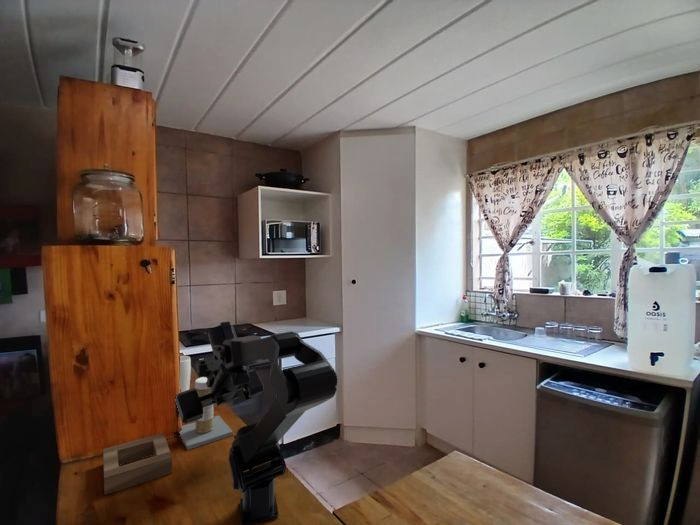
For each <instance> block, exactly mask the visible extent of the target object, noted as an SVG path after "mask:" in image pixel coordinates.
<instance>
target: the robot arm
mask: <svg viewBox="0 0 700 525" xmlns="http://www.w3.org/2000/svg"><path fill="white" fill-rule="evenodd" d="M237 335H238V334H237V333H236V330H235V327H234V325H232V324H231V322H230V321H222V322H220V323H219V325H217V326H215V327H213V328H212V329H210V331H208V332H207V336H208V340H209V344H210V347H211V351H212V354H213V355H212V356H207V357H205V358H203V359H201V360H199V361H197V362H196V363H195V365H194V373H195V374H196V376H197V378H201V377H206V378H207V382H206V385H207V387H208V388H209V387H210V394H207V395H204V396H202V397H199V396H198V393H197V390H196V388H195V387H194V388H189V390H187V391H184V392H181V393H178V394H177V396H176V399H175V402H176V405H177V408H178V411H177V412H178V415H179V416H180V421H181V423H184V424H189V423H193V422H196V420H198V419H200V418H202V415H203V408H205V407H208V406H211V405H213V406H214V405H216V406H217V407H219V406H222V405H225V404H227V403H229V402H231V406H232V407H234V406H236V405H239V404H241V403H244V402H246V401H249V400H252V399H254V398H257V397H258V396H260V395H262V394H263V392H264V389H265V385H264V383H263V380H262V378H261V376H260V374H259V372H258V371H257V370H256V369H253V368H252V369H249V368H250V365H255V364H258V363H260V362H262V361H264V360H269V363H270V364H271V365H270V370H269V375H268V382H269V383H270V385H271V387H272V389H273V391H274V392H275V394H276V396H277V397H276V398H275V399H274V401H273V402H272V403H271V405H270V407H269V408H268V409H267V410H266V412H265V413H264V414H263V416H262V417H261V419H260V420H259V421H257V422H254V423H250V424H248V425H245V426H241V427H240V428H238V430H237V432H236V434H235V435H232V436H233V439H234V440H233V441H232V443H231V447H230V448H229V453H228V462H229V468H230V474H231V479H232V489H233V490H239V492H240V493H241V494H242V498H240V500H239V502H240V503H239V504H240V505H239V506H240V525H251V524H255V523H259V522H264V521H268V520H273V519H277V518H278V517H279V510H278V503H277V498H276V492H275V482H276V481H275V479H276V478H278V477H280V476H285V474H286V470H287V464H286V461H285V457H284V455H283V451H282V449H281V447H280V446H281V445H280V443H279V442H280V440H281V439H282V438H283V437H284V436H285V435H286V433H288V432H289V431H290V429H291V428H292V427H293V426H294V424H296V423H297V421H298V420H299V419H300V418H301V417H302V415H303V414H305V412H306V411H309V410H311V409H312V408H315V407H317V406H320V405H322V404H324V403H325V402H327V401H329V400H330V399H333V398H334V397H335V395H336V393H337V389H338V388H337V387H338V375H337V372H336V371H335V368H333V366H332V365H331V363H330V361H328V359H327V358H326V357H325V354H323V353H322V351H320V350H318V349H316V347H313V346H312V345H310V344H309V343H306V342H305V341H304V340H303V338H302V337H301V336H300V335H299V333H298V332H294V331H285V332H281V333H274V334H273V333H272V334H270V335H269V336H266V337H261V336H260V335H247V336H243V337H242V336H240V337H238V336H237ZM292 357H294V358H295V359H296V361H299V362H300V363H301V364H300V365H296V366H295V365H294V366H291V367H287V368H283V369H282V367H280V364H279V363H278V360H281V359H287V358H292ZM209 401H210V402H209ZM204 403H205V404H204Z"/></svg>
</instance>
